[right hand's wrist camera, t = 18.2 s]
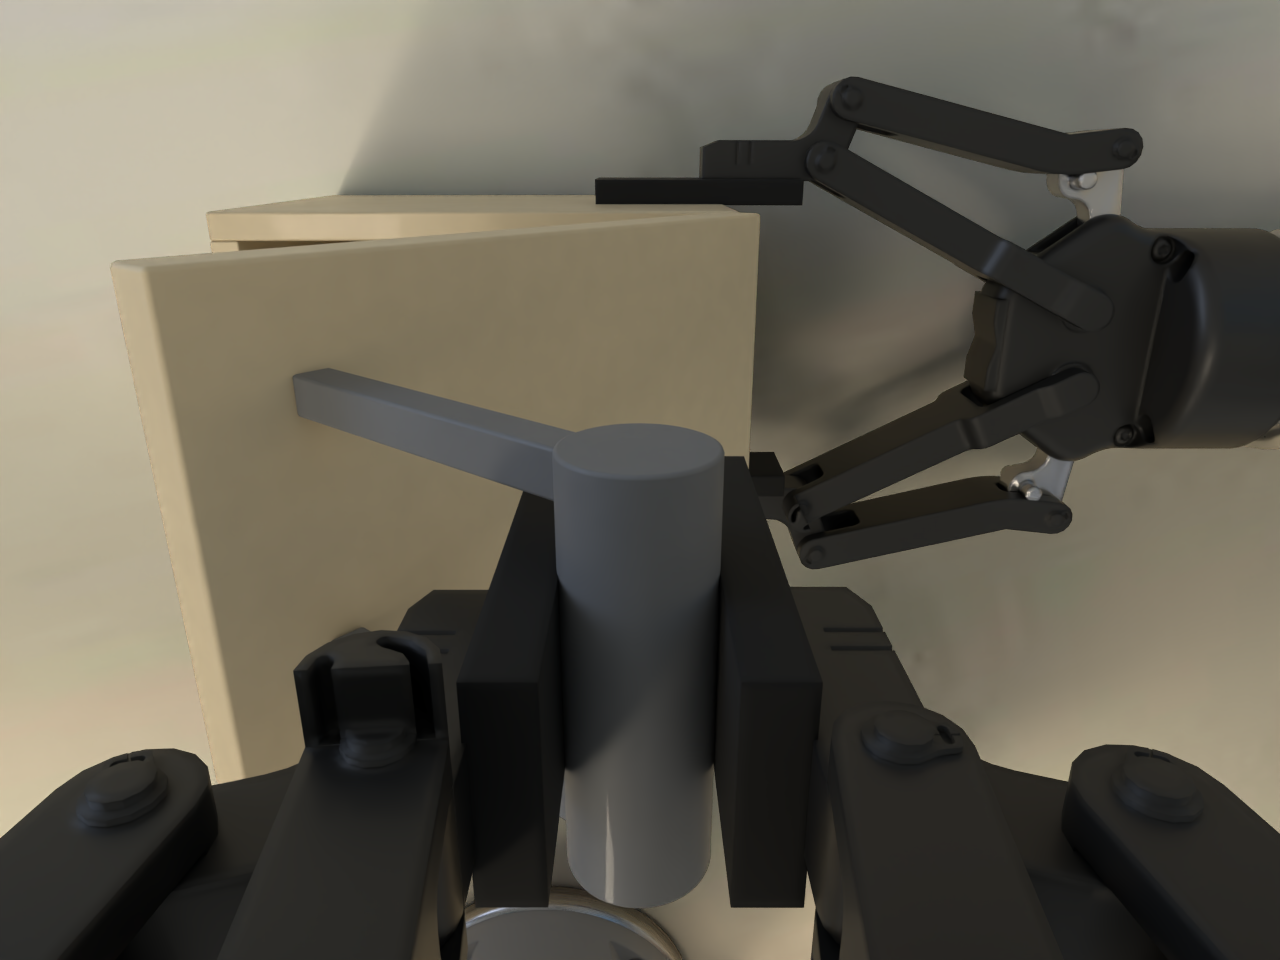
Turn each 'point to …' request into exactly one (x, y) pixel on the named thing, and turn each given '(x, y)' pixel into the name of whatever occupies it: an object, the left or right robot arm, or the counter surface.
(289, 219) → the chest
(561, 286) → the lid
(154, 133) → the counter surface
